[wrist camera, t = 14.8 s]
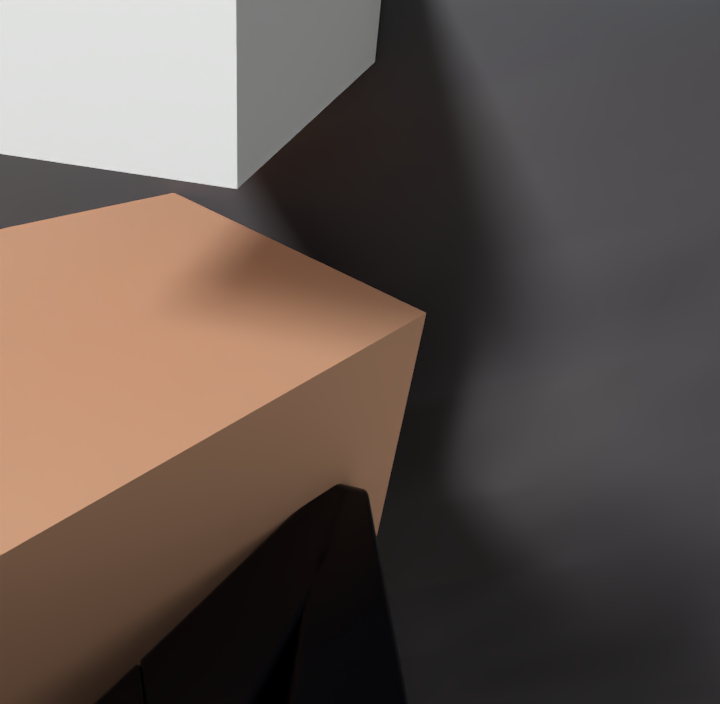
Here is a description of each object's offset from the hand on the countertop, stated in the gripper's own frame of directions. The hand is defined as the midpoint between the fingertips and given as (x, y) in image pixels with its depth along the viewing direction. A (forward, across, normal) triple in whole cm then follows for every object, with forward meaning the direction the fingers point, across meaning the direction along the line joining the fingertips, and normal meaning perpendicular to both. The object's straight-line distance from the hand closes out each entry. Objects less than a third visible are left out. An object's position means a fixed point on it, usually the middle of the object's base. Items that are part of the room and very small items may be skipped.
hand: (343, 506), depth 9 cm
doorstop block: (+2, +2, 0) cm, 3 cm away
